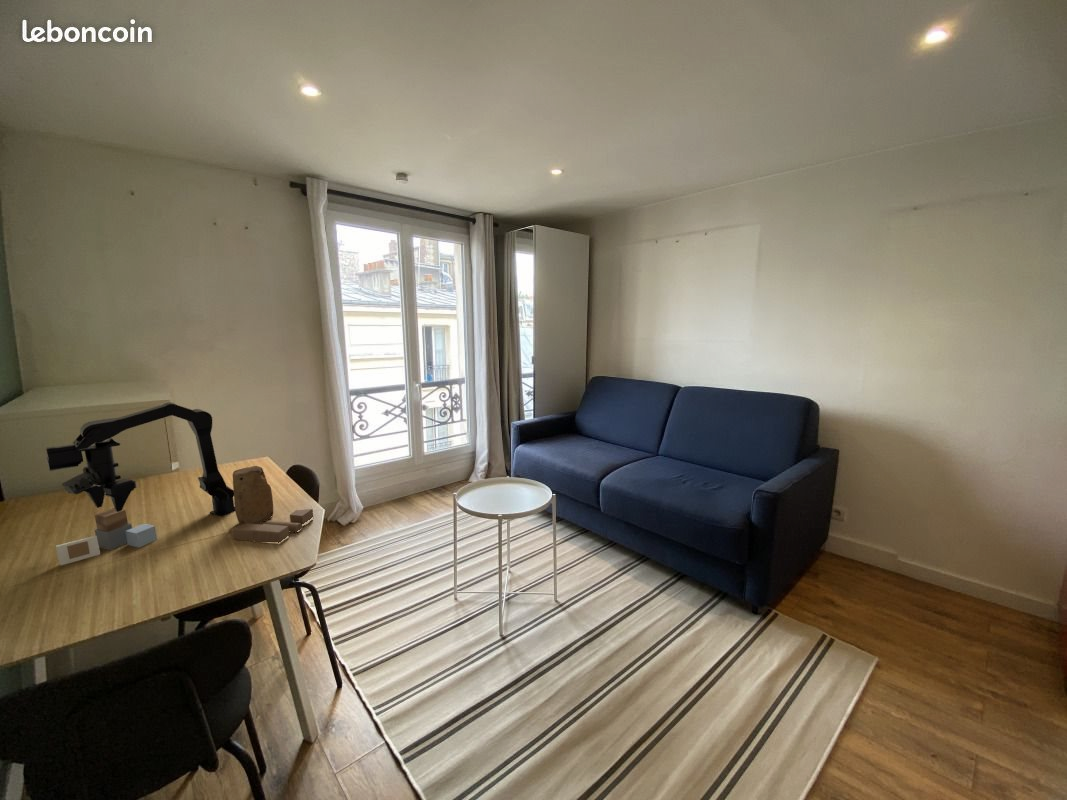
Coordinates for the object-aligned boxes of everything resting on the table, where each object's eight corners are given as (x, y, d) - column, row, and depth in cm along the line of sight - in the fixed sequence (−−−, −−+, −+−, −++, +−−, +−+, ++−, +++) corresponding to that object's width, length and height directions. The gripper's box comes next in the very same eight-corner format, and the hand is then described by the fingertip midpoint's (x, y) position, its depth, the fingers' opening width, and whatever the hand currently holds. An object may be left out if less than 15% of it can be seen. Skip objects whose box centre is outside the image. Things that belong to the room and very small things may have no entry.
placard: (60, 564, 117) (56, 545, 116) (100, 553, 123) (96, 535, 122) (60, 566, 116) (55, 547, 115) (100, 554, 122) (96, 536, 121)
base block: (134, 540, 130) (131, 523, 129) (110, 550, 125) (107, 532, 124) (121, 537, 132) (118, 520, 131) (97, 547, 126) (94, 529, 125)
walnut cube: (127, 524, 129) (125, 509, 128) (108, 531, 124) (105, 516, 123) (117, 522, 130) (114, 507, 129) (97, 529, 125) (94, 514, 125)
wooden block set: (280, 530, 128) (230, 525, 131) (282, 546, 130) (232, 541, 132) (315, 506, 145) (269, 503, 147) (316, 521, 146) (271, 517, 148)
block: (239, 529, 138) (232, 475, 135) (236, 522, 144) (229, 469, 140) (276, 519, 146) (270, 467, 142) (271, 512, 151) (265, 462, 147)
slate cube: (157, 539, 131) (154, 525, 130) (138, 547, 126) (136, 533, 125) (146, 537, 132) (144, 523, 132) (127, 545, 128) (125, 530, 127)
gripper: (44, 467, 118) (54, 516, 121) (85, 474, 113) (95, 525, 116) (93, 455, 129) (102, 501, 132) (133, 462, 124) (141, 509, 127)
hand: (109, 509), depth 126 cm, fingers open, 9 cm apart
